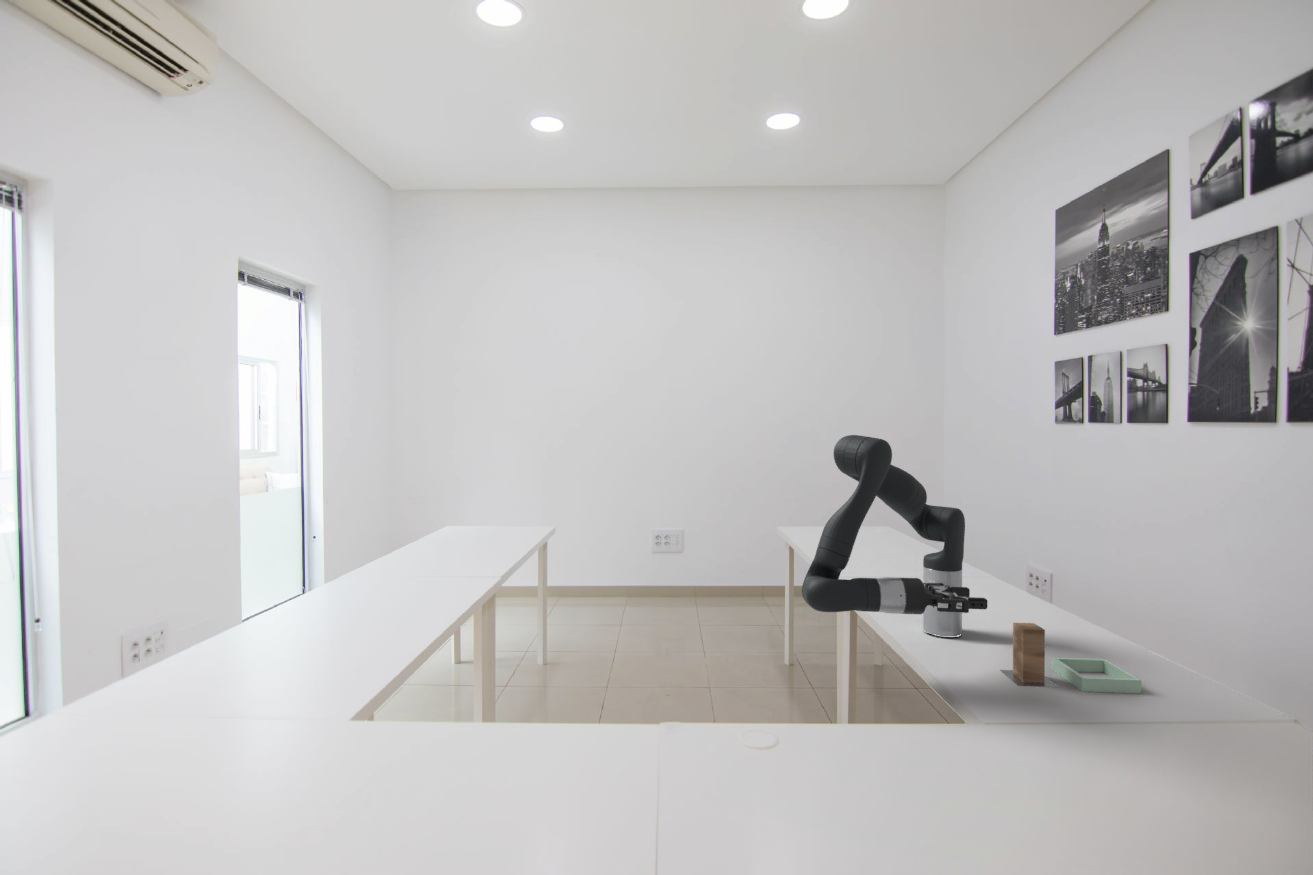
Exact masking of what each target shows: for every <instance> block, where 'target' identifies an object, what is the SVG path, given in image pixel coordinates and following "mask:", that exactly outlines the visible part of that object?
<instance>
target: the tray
mask: <svg viewBox="0 0 1313 875" xmlns="http://www.w3.org/2000/svg"><path fill="white" fill-rule="evenodd" d="M1050 667H1051V670H1052V671H1053V672H1055V673H1056V674H1058V675H1059V676H1060V677H1062V678H1063V679H1065V680H1066V681H1067V682H1069V683H1070V684H1071V685H1073V686H1075V687H1076V688H1077V689H1079V690H1080V691H1082V692H1095V693H1098V692H1100V693H1103V692H1104V693H1121V694H1122V693H1128V694H1142V680H1141V679H1140V678H1138V677H1137V676H1135V675H1133V674H1131V673H1130V672H1128V671H1126V670H1124V669H1123V668H1121V667H1119V666H1118V665H1116V664H1115V663H1113V662H1110V661H1109V660H1107V659H1106V658H1082V657H1081V658H1079V657H1076V658H1075V657H1051V665H1050ZM1080 672H1084V673H1085V672H1087V673H1104V674H1106V675H1107V676H1109V677H1099V676H1098V677H1097V676H1095V677H1094V676H1084V675H1082V674H1080Z"/></svg>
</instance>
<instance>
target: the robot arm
mask: <svg viewBox="0 0 1313 875" xmlns="http://www.w3.org/2000/svg"><path fill="white" fill-rule="evenodd" d="M833 460H834V463H835V465H836V467H837V469H838V470H839V471H840V472H841V473H843V474H845V475H846V476H847V477H850V478H851V479H853V480H855V481H856V482H858V484H857V486H856V488H855V489H854V491H853V493H852V495H851V496H850V497H849V498H848V499H847V500H846V501H845V503H844V504H843V505H841V506H840V508H838V509H837V510H836V511H835V512H834V514H832V515H831V516H830V517H829V519H828V521H827V522H826V523H825V526H824V527H823V530H822V532H821V536H820V538H819V542H818V544H817V548H816V552H815V555H814V558H813V559H812V560H811V561H812V562H811V564H810V565H809V568H808V570H807V571H806V572H807V573H806V574H805V576H804V580H803V582H802V587H801V597H802V598H803V600H804V602H805V603H806V604H807V605H808V606H809V607H810V608H812V609H813V610H814V611H817V612H820V613H842V612H843V613H844V612H850V611H851V612H852V611H856V612H857V611H858V612H873V613H874V612H875V613H884V614H891V615H892V614H894V615H922V614H923V615H922V616H923V617H922V620H923V621H922V622H923V623H922V628H923V629H924V630H925V631H926V632H929V633H931V634H936V635H940V636H957V635H960V634H962V635H963V613H964V614H968V613H970V610H987V609H988V600H987V598H985V597H974V596H973V597H972V596H971V597H970V595H971V594H970V588H969V587H967V586H963V560H964V555H965V554H964V553H965V552H964V551H965V534H966V519H965V515H964V512H963V511H962V510H961V509H959V507H958V508H957V507H951V506H949V507H948V506H940V505H932V504H931V505H930V504H927V502H928V501H927V499H928V495H927V490H926V489H925V487H924V486H923V484H922V483H920V481H919V480H918V479H916V478H915V477H914V476H913V475H912V474H911V473H909V472H908V471H906V470H904V469H902V468H900V467H898V466H895V465H893V464H892V460H893V450H892V446H891V445H890V444H889V442H888V441H887V440H885V439H882V438H878V437H871V436H866V435H857V434H849V435H845V436H843V437H841V438H840V439H839V440H838V441H837V442H836V443H835V445H834V448H833ZM876 497H877V498H879V499H880V500H881V501H882V502H883V503H884V504H885V506H888V507H889V508H890V509H891V510H892V511H894V512H895V513H897V514H898V515H899V516H900V517H902V518H903V519H904V520H905V521H907V523H908V524H909V525H910V527H912V529H913V530H915V531H916V533H917V534H918V535H919V537H921V538H923V539H925V540H928V541H934V542H939V543H943V544H944V545H943V549H941V550H940V551H937V552H931V553H928V554H925V555H924V556H923V559H922V560H923V562H922V563H923V565H922V566H923V568H922V570H923V581H922V579H921V578H918V577H891V576H890V577H886V576H884V577H876V578H875V577H854V578H851V579H845V578H844V579H843V578H842V579H841V578H840V575H841V573H842V571H843V570H845V569H846V567H847V566H848V563H849V561H850V558H851V555H852V553H853V549H854V546H855V543H856V539H857V537H858V535H859V531H860V529H861V526H862V524H863V522H864V520H865V518H866V516H867V514H868V512H869V510H870V509H871V507H872V505H873V503H874V501H875V499H876Z"/></svg>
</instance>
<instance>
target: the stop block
mask: <svg viewBox="0 0 1313 875" xmlns="http://www.w3.org/2000/svg"><path fill="white" fill-rule="evenodd" d="M1045 632H1046V631H1045V629H1044V628H1043V627H1041V626H1040V625H1038V624H1036V623H1034V622H1013V623H1012V670H1013V674H1014V675H1015V676H1016V677H1018V678H1019V679H1020V680H1021V681H1023V682H1038V683H1045V677H1046V676H1045V675H1046V674H1045V672H1046V670H1045V669H1046V668H1045V665H1046V664H1045V662H1046V660H1045V659H1046V658H1045V656H1046V654H1045V653H1046V651H1045V649H1046V646H1045V645H1046V642H1045V641H1046V638H1045V637H1046V633H1045Z"/></svg>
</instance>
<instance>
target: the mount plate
mask: <svg viewBox="0 0 1313 875" xmlns="http://www.w3.org/2000/svg"><path fill="white" fill-rule="evenodd" d="M999 671H1000V672H1001V673H1002V674H1004V676H1006V677H1007V678H1008V679H1010V680H1011V681H1012V682H1013V683H1014V684H1015V685H1016V686H1018V687H1044V688H1060V686H1059V685H1057V684H1056V683H1055V682H1053V681H1052V680H1051V679H1049V678H1048V677H1047V676H1045V683H1038V682H1023V681H1021V680H1020V679H1019V678H1018V677H1016V676H1015V675H1014V674H1013V669H1000V670H999Z"/></svg>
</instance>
